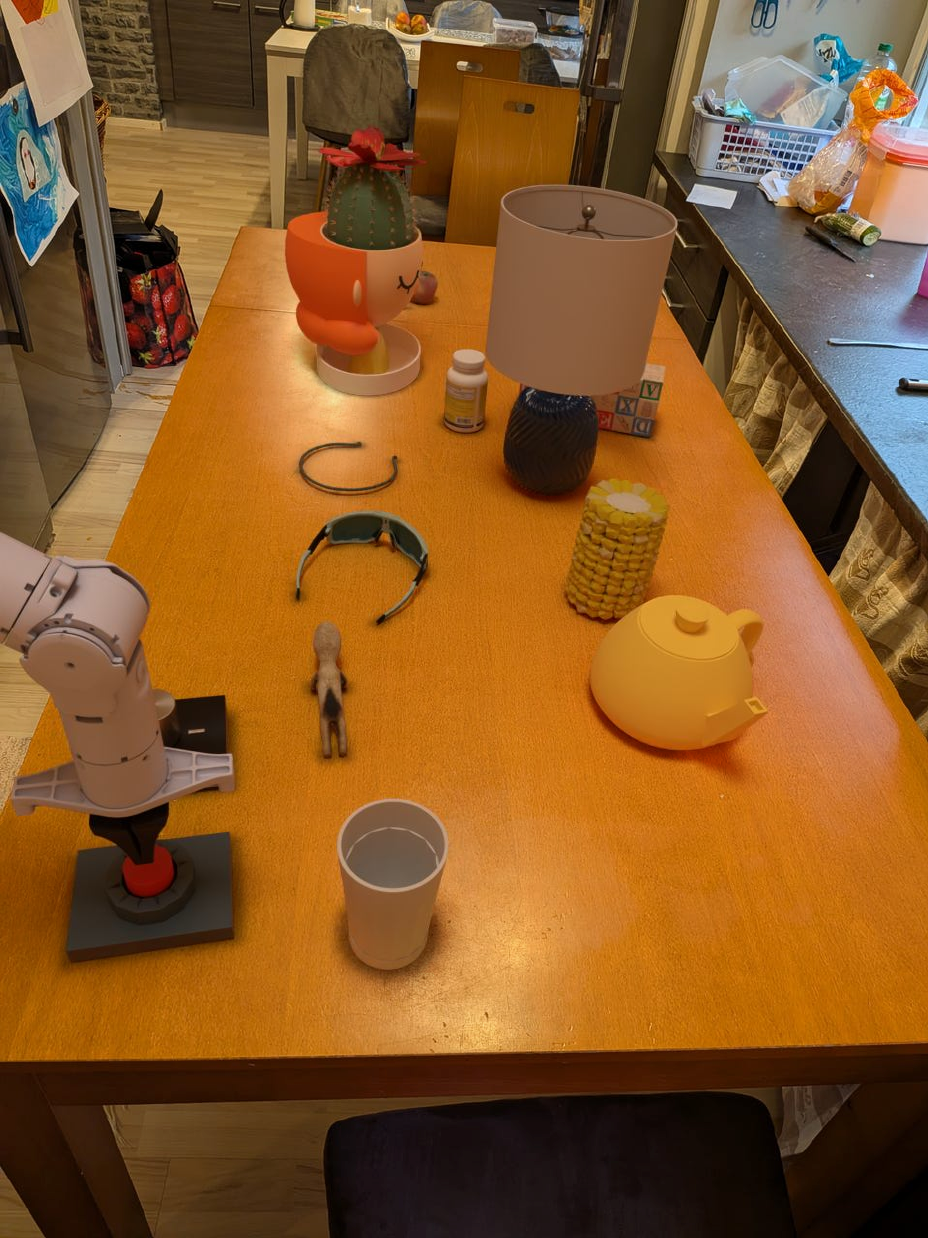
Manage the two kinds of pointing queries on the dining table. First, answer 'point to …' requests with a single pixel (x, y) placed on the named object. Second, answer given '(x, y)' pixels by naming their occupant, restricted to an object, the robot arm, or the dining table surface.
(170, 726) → the dimmer knob
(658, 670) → the teapot
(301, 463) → the black headband
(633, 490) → the food
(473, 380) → the pill bottle
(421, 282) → the apple
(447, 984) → the dining table surface
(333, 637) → the figurine
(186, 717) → the dimmer panel
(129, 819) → the robot arm
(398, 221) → the potted cactus
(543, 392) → the lamp
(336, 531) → the sunglasses
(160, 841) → the switch block
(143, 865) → the switch button
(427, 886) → the cup
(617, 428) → the stack of blocks
